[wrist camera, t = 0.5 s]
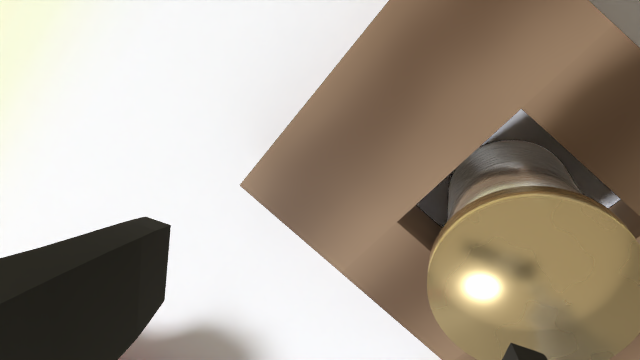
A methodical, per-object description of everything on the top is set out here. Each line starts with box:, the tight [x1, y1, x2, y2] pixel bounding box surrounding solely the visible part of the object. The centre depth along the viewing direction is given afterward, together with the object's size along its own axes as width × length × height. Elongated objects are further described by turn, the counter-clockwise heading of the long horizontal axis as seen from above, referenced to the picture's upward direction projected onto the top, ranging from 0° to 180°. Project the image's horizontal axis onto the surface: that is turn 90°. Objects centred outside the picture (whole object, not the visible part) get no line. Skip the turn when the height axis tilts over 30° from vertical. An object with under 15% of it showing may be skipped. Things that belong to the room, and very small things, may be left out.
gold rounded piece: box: [427, 140, 640, 360], centre depth 15 cm, size 5×5×6 cm
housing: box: [240, 0, 640, 360], centre depth 17 cm, size 16×12×2 cm
